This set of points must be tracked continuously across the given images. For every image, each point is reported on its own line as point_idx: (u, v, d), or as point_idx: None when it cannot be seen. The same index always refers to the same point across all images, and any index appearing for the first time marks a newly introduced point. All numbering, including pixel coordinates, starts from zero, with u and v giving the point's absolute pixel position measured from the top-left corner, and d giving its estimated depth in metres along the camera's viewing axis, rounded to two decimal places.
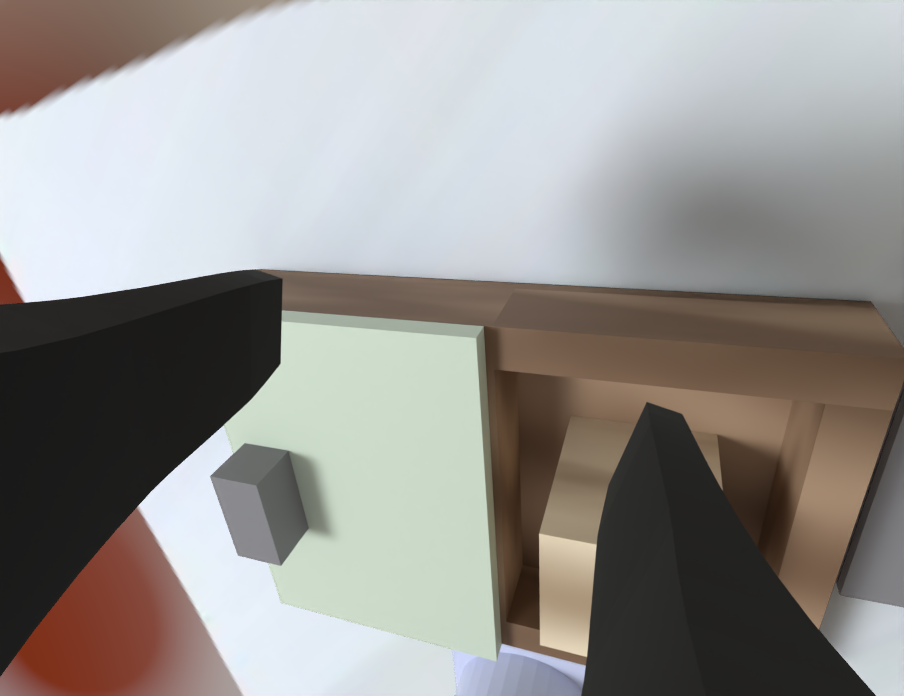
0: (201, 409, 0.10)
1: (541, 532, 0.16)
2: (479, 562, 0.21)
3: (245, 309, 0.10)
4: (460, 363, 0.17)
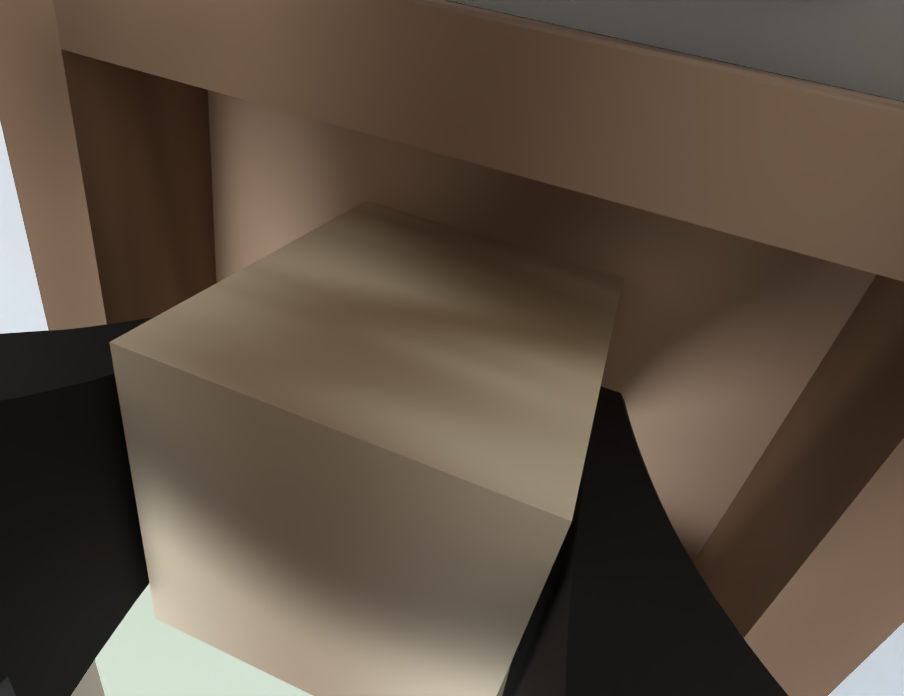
0: None
1: None
2: None
3: None
4: None
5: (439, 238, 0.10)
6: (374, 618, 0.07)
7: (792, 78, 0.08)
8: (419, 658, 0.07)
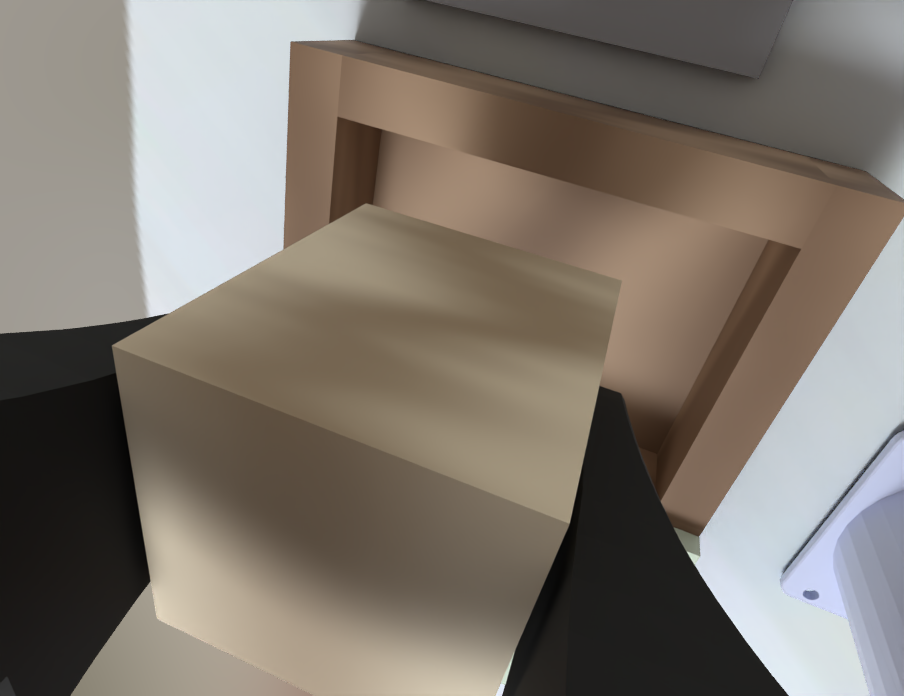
0: None
1: (158, 613, 0.09)
2: None
3: None
4: None
5: (438, 240, 0.10)
6: (373, 618, 0.07)
7: (719, 136, 0.15)
8: (418, 658, 0.07)
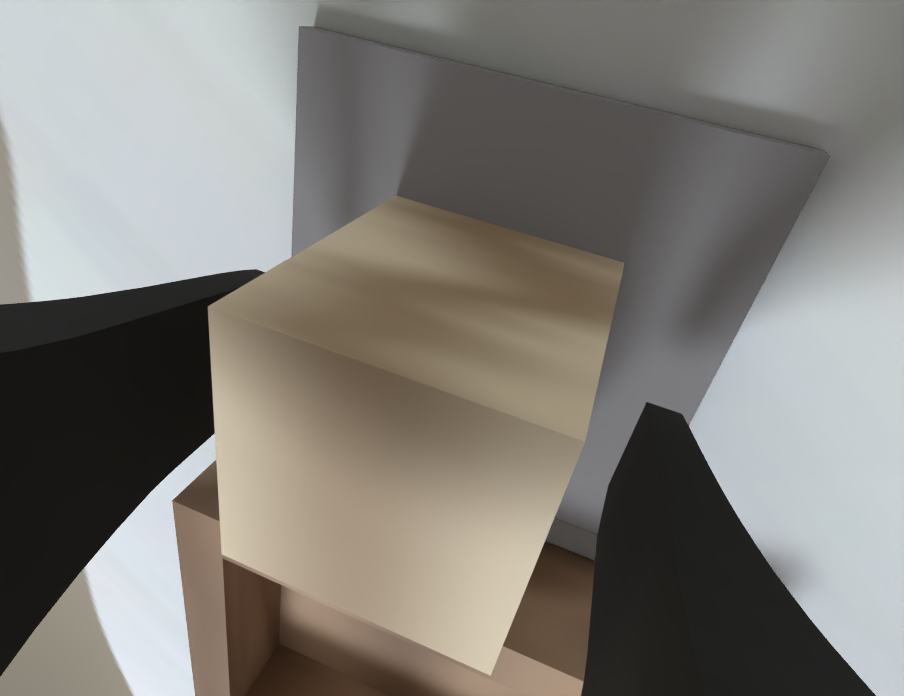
0: (201, 408, 0.10)
1: (222, 549, 0.10)
2: None
3: None
4: None
5: (462, 227, 0.11)
6: (418, 538, 0.08)
7: None
8: (455, 573, 0.08)
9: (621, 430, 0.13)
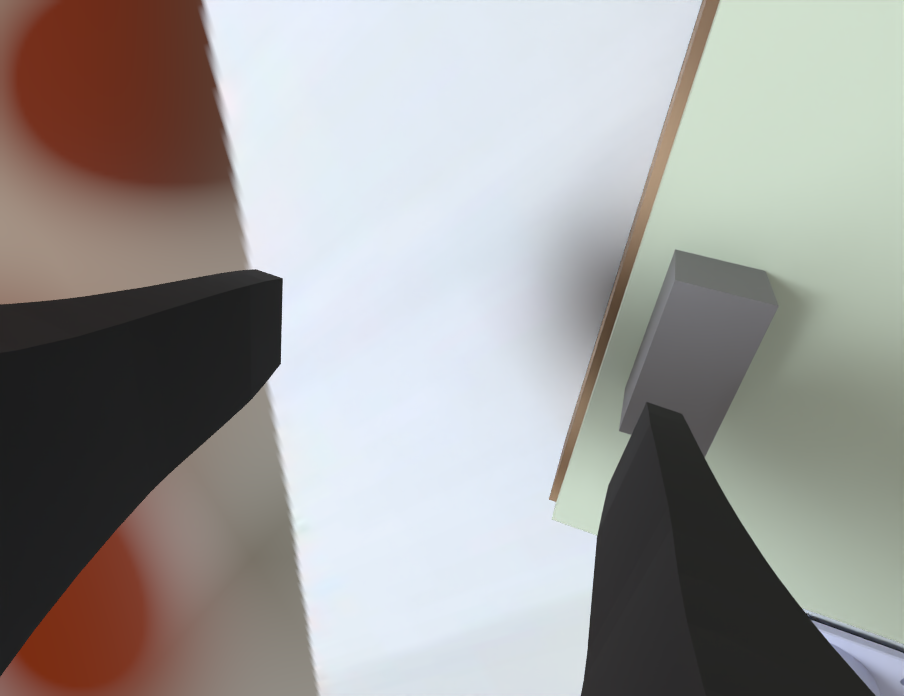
0: (201, 408, 0.10)
1: None
2: None
3: (245, 309, 0.10)
4: None
5: None
6: None
7: None
8: None
9: None
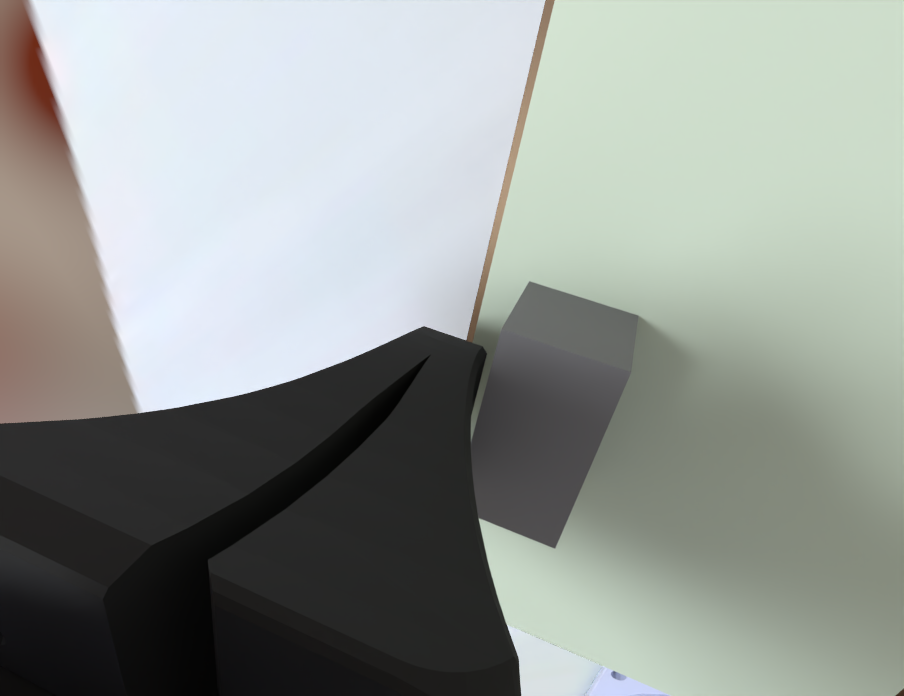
0: None
1: None
2: None
3: None
4: None
5: None
6: None
7: None
8: None
9: None
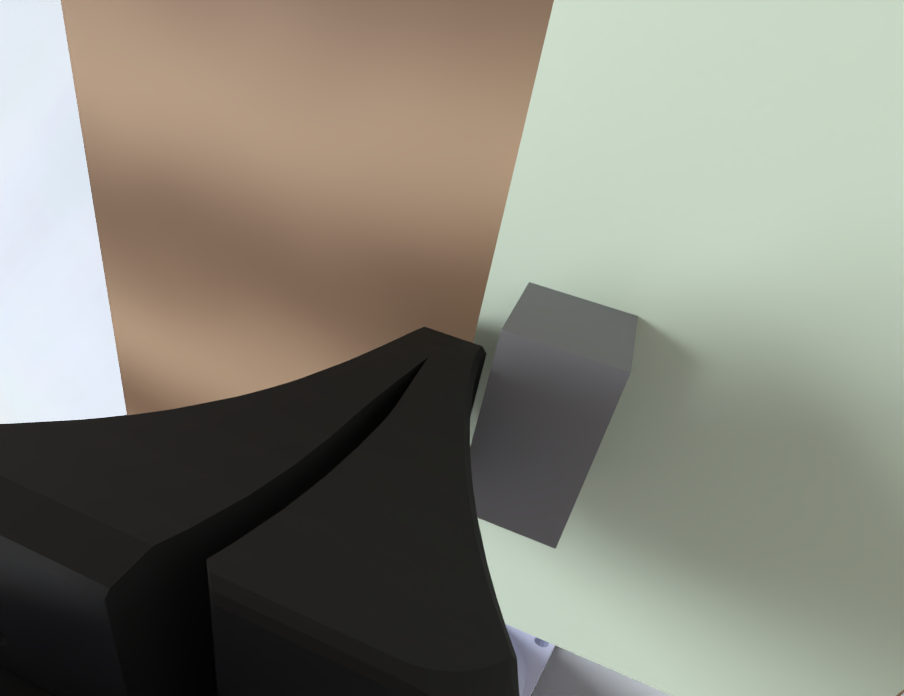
0: None
1: None
2: None
3: None
4: None
5: None
6: None
7: None
8: None
9: None
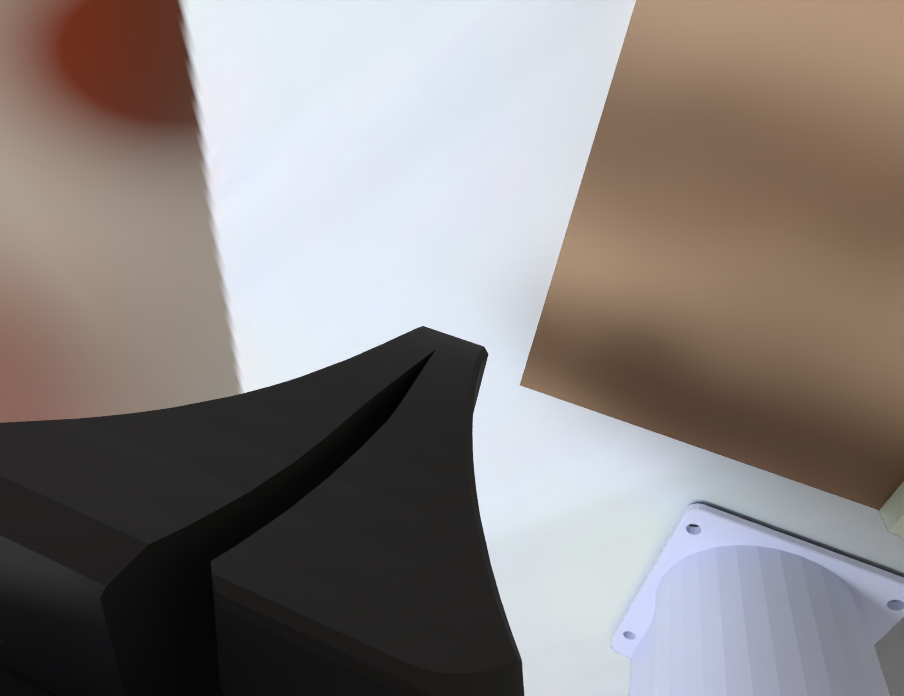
0: None
1: None
2: None
3: None
4: None
5: None
6: None
7: None
8: None
9: None
